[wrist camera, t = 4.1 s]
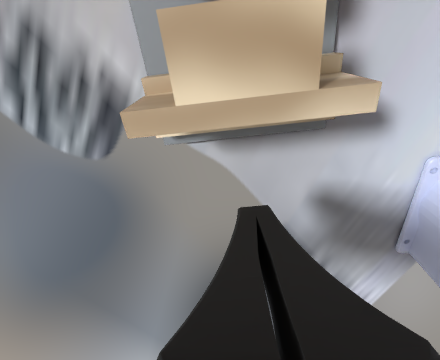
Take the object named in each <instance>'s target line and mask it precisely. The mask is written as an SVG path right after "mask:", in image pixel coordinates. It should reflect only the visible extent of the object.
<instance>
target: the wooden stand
mask: <svg viewBox="0 0 440 360" xmlns="http://www.w3.org/2000/svg"><path fill="white" fill-rule="evenodd" d="M326 1H327V0H218V1H211V2H205V3H198V4H191V5H184V6H177V7H171V8H164V9H157V10H156V12H157V17H158V22H159V27H160V32H161V37H162V42H163V47H164V51H165V56H166V61H167V66H168V71H169V73H168V74H160V75H153V76H146V77H144V78H142V79H141V81H142V84H143V88H144V92H145V96H144V97H142V98H141V99H139V100H138V101H136V102H135V103H133V104H132V105H130V106H129V107H127V108H126V109H124V110H123V111H121V112H120V115H121V118H122V121H123V124H124V128H125V131H126V134H127V137H128V139H130V138H139V137H148V136H156V137H157V138H162V137H171V136H180V135H189V134H199V133H208V132H217V131H227V130H236V129H245V128H254V127H264V126H273V125H282V124H292V123H301V122H310V121H320V120H329V119H335V116H342V115H352V114H361V113H370V112H376V109H377V104H378V99H379V95H380V90H381V85H382V82H380V81H376V80H372V79H368V78H364V77H360V76H356V75H352V74H348V73H344V72H341V67H342V59H343V53H335V52H333V53H326V54H322V47H323V35H324V24H325V12H326Z"/></svg>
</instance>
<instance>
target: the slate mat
mask: <svg viewBox="0 0 440 360" xmlns="http://www.w3.org/2000/svg"><path fill="white" fill-rule="evenodd" d="M211 1H218V0H129V3H130V7H131V11H132V15H133V19H134V23H135V27H136V31H137V35H138V39H139V44H140V48H141V52H142V56H143V60H144V64H145V68H146V72H147V76H153V75H160V74H168V73H169V71H168V66H167V61H166V56H165V51H164V47H163V42H162V37H161V32H160V27H159V22H158V17H157V12H156V10H157V9H164V8H171V7H177V6H184V5H191V4H198V3H205V2H211ZM338 6H339V0H327V1H326V12H325V24H324V35H323V47H322V54H326V53H333V52H334V43H335V34H336V24H337V15H338ZM325 125H326V120H320V121H310V122H301V123H292V124H282V125H273V126H264V127H254V128H245V129H236V130H227V131H217V132H208V133H199V134H189V135H180V136H171V137H163V140H164V144H165V145H169V144H179V143H189V142H199V141H208V140H218V139H227V138H237V137H246V136H256V135H265V134H275V133H284V132H294V131H303V130H313V129H322V128H325Z"/></svg>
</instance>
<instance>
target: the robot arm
mask: <svg viewBox="0 0 440 360" xmlns="http://www.w3.org/2000/svg"><path fill="white" fill-rule="evenodd" d="M431 169H433V170H431ZM430 170H431V171H430ZM396 250H397V251H398V253H410V254H411V255H412V257H413V258H414V259H415V260H416V261H417V262H418V263H419V265H420V266H421V267H422V268H423V269H424V270H425V271H426V272H427V274H428V275H429V276H430V277H431V278H432V279H433V280H434V282H436V284H437V285H438V286H439V287H440V156H434V157H431V158H429V159H428V160H427V161H426V163H425V165H424V168H423V171H422V174H421V177H420V180H419V182H418V185H417V188H416V191H415V194H414V197H413V199H412V202H411V205H410V208H409V211H408V214H407V216H406V219H405V222H404V225H403V228H402V231H401V233H400V236H399V239H398V242H397V245H396ZM262 277H263V278H262ZM263 281H264V283H263ZM264 285H265V288H264ZM265 289H266V293H267V297H268V301H269V305H270V309H271V314H272V319H273V323H274V330H273V325H272V321H271V316H270V311H269V307H268V302H267V297H266V293H265ZM274 331H275V334H274ZM275 337H276V338H275ZM157 360H440V355H439V354H438V353H437V352H436V350H435V349H434V348H433V347H432V346H431V344H430V343H429V342H428V340H426V339H424V338H423V337H421V336H419V335H418V334H416V333H414V332H413V331H411V330H409V329H408V328H406V327H405V326H403V325H401V324H400V323H398V322H396V321H395V320H393V319H391V318H390V317H388V316H387V315H385V314H384V313H382V312H381V311H379V310H378V309H376V308H375V307H373V306H372V305H370V304H369V303H367V302H366V301H364V300H363V299H362V298H360V297H359V296H358V295H356V294H355V293H354V292H352V291H351V290H350V289H349V288H347V287H346V286H345V285H343V284H342V283H341V282H339V281H338V280H337V279H336V278H334V277H333V276H332V275H331V274H330V273H328V272H327V271H326V270H325V269H324V268H323V267H322V266H320V265H319V264H318V263H317V262H316V261H315V260H314V259H313V258H312V257H311V256H310V255H309V254H308V253H307V252H306V251H305V250H304V249H303V248H302V247H301V246H300V245H299V244H298V243H297V242H296V241H295V240H294V238H293V237H292V236H291V235H290V234H289V233H288V231H287V230H286V229H285V228H284V226H283V225H282V224H281V223H280V221H279V220H278V219H277V217H276V216H275V214H274V213H273V211H272V210H271V208H270V207H269V206H268V205H263V206H252V207H241V208H239V209H238V215H237V221H236V225H235V229H234V232H233V235H232V238H231V241H230V244H229V246H228V248H227V251H226V253H225V256H224V258H223V260H222V262H221V264H220V266H219V268H218V270H217V272H216V274H215V276H214V278H213V280H212V281H211V283H210V285H209V286H208V288H207V290H206V291H205V293H204V294H203V296H202V298H201V299H200V301H199V302H198V303H197V305H196V306H195V308H194V309H193V311H192V312H191V314H190V315H189V316H188V318H187V319H186V320H185V322H184V323H183V324H182V326H181V327H180V328H179V330H178V331H177V332H176V333H175V334H174V336H173V337H172V338H171V339H170V341H169V342H168V343H167V344H166V345H165V347H164V348H163V349H162V350H161V352H160V353H159V356H158V358H157Z"/></svg>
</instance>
